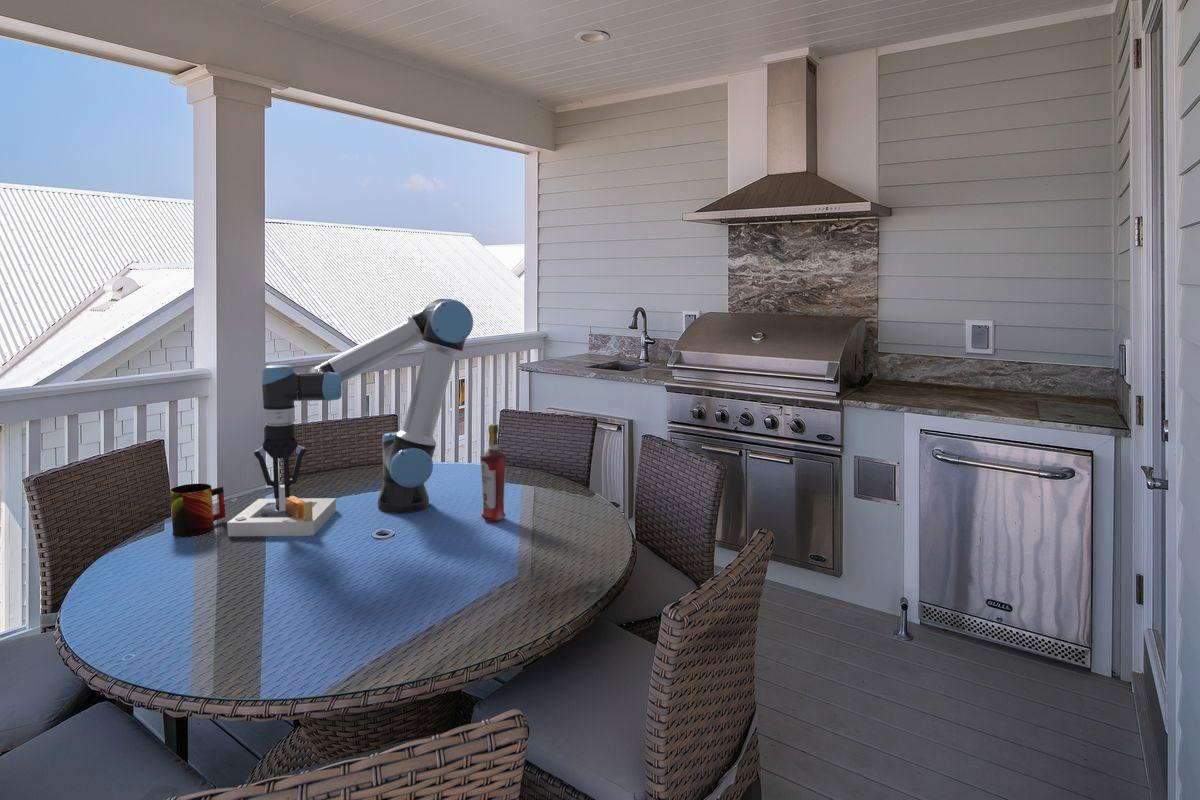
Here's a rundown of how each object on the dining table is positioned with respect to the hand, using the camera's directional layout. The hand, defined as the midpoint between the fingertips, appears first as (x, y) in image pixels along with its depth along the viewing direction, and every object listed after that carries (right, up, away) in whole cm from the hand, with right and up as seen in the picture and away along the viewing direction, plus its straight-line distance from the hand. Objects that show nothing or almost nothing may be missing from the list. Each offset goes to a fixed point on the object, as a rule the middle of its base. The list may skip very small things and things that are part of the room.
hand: (282, 509), depth 193 cm
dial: (-1, -3, +6) cm, 7 cm away
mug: (-24, -6, +2) cm, 25 cm away
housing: (-3, -5, +8) cm, 10 cm away
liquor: (+55, -5, +15) cm, 57 cm away
